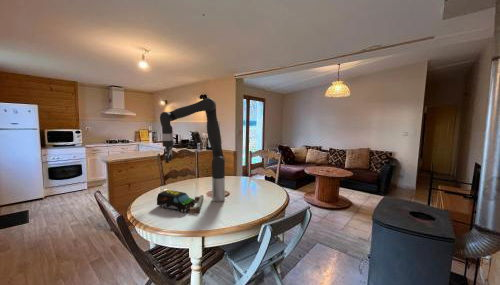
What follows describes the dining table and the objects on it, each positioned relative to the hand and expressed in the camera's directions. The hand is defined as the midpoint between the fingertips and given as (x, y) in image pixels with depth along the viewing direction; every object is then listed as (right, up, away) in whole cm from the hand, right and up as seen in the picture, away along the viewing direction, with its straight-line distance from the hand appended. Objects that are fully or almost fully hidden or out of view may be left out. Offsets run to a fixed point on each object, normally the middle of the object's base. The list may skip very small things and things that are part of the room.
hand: (168, 161), depth 150 cm
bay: (+23, -30, -9) cm, 39 cm away
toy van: (+9, -30, -11) cm, 34 cm away
